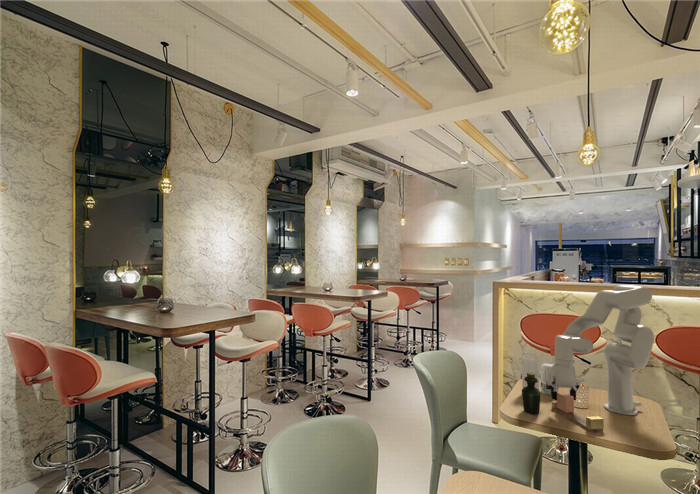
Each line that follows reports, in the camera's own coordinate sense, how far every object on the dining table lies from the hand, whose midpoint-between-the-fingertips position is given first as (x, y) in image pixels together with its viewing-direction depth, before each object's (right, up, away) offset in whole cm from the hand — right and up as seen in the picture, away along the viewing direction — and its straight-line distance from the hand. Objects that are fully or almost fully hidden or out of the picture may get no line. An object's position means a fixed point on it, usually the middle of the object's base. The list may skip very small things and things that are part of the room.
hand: (563, 399), depth 165 cm
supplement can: (+8, -8, +25) cm, 27 cm away
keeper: (+1, -5, 0) cm, 5 cm away
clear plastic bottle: (-3, -8, +23) cm, 25 cm away
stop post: (+3, -5, -17) cm, 18 cm away
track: (+2, -6, -7) cm, 9 cm away
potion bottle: (-15, -7, +1) cm, 16 cm away
